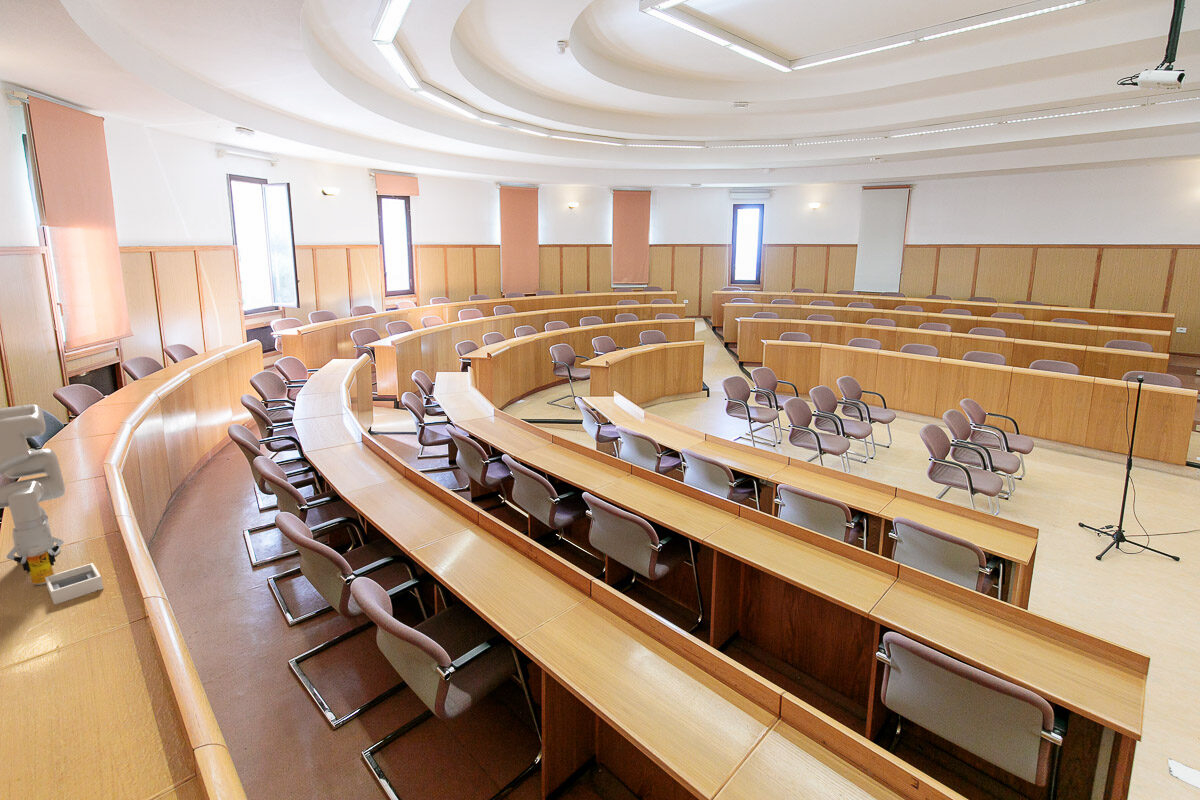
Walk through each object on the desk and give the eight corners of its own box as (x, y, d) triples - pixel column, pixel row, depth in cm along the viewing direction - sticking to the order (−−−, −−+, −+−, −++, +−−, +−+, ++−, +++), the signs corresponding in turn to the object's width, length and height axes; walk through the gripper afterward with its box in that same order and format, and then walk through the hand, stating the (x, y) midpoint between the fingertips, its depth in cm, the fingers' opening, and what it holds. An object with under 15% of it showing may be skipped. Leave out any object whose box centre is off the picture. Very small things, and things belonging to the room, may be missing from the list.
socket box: (47, 589, 222) (44, 577, 220) (95, 574, 231) (92, 562, 230) (54, 604, 213) (51, 591, 212) (103, 588, 223) (100, 576, 221)
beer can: (41, 586, 223) (32, 549, 218) (28, 584, 224) (18, 547, 219) (59, 577, 228) (50, 541, 224) (45, 575, 229) (36, 539, 225)
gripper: (58, 511, 228) (69, 555, 233) (-6, 527, 216) (6, 573, 221) (62, 518, 223) (72, 562, 228) (-4, 535, 211) (9, 581, 216)
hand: (40, 567), depth 224 cm, fingers closed on beer can, 6 cm apart
